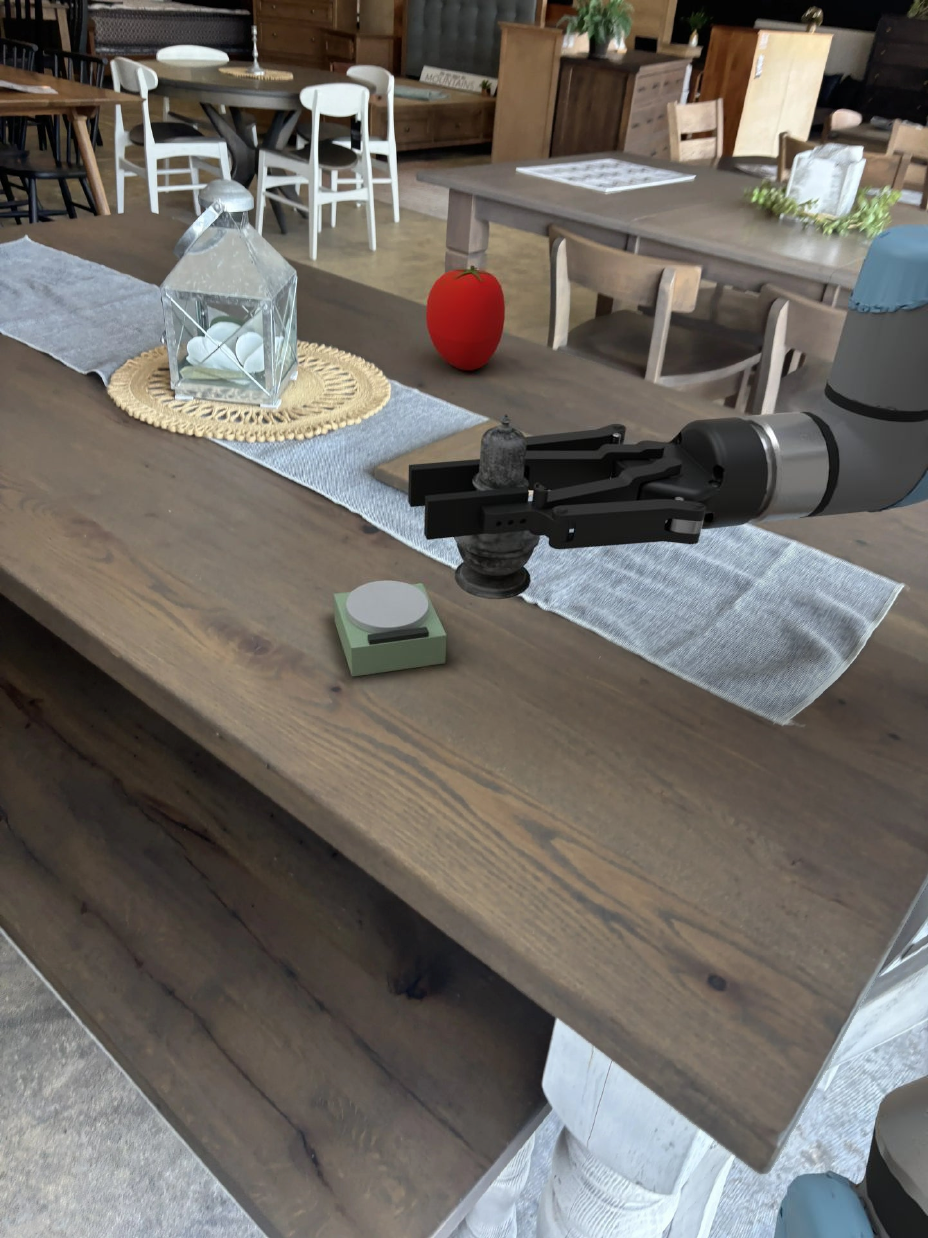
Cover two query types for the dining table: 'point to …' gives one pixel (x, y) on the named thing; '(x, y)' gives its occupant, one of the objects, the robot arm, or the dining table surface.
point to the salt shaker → (502, 556)
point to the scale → (388, 628)
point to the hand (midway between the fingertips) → (418, 501)
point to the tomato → (466, 317)
